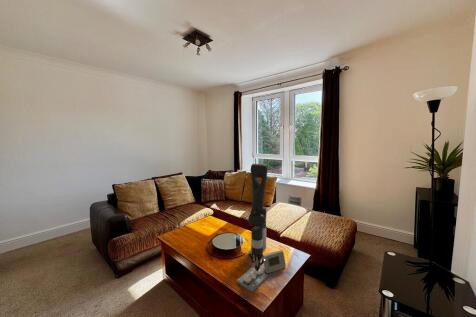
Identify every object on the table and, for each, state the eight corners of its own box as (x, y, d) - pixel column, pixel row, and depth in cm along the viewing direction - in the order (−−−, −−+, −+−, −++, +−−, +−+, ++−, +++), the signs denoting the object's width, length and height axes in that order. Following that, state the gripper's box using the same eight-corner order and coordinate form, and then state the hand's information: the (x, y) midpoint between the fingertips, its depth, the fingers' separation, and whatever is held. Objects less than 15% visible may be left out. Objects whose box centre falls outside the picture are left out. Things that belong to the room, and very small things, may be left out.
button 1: (242, 282, 119) (242, 277, 119) (247, 277, 123) (246, 272, 122) (248, 285, 116) (248, 280, 116) (252, 281, 120) (252, 276, 119)
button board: (237, 282, 122) (236, 279, 121) (252, 268, 133) (252, 266, 133) (252, 292, 114) (252, 289, 113) (267, 276, 126) (267, 274, 125)
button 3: (252, 274, 127) (252, 270, 127) (256, 271, 130) (256, 266, 130) (258, 278, 124) (258, 273, 124) (262, 274, 127) (262, 269, 127)
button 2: (247, 279, 123) (247, 274, 123) (251, 275, 127) (251, 270, 126) (253, 282, 120) (253, 277, 120) (257, 278, 124) (257, 273, 123)
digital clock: (265, 274, 128) (265, 259, 126) (260, 265, 136) (260, 251, 135) (288, 270, 131) (288, 256, 129) (282, 262, 140) (282, 248, 138)
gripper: (245, 243, 126) (245, 268, 128) (262, 251, 117) (262, 277, 120) (252, 238, 132) (252, 262, 134) (269, 245, 123) (269, 271, 125)
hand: (257, 269), depth 127 cm, fingers closed
